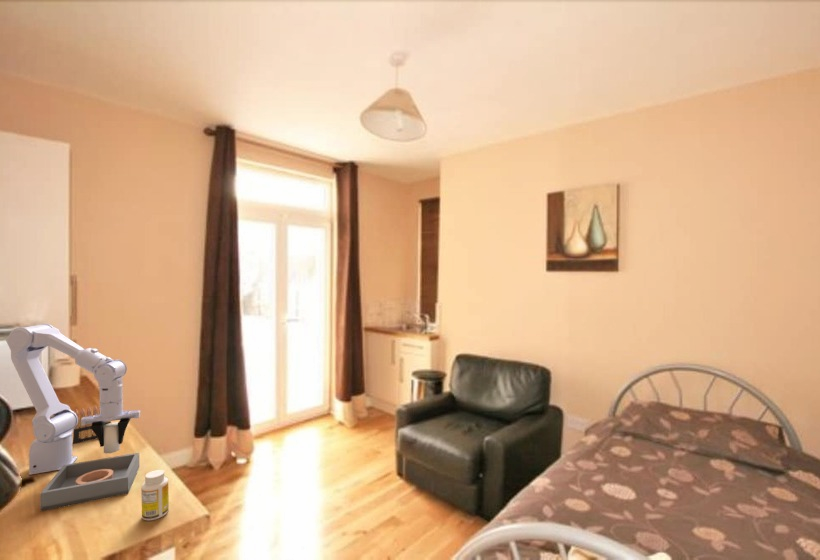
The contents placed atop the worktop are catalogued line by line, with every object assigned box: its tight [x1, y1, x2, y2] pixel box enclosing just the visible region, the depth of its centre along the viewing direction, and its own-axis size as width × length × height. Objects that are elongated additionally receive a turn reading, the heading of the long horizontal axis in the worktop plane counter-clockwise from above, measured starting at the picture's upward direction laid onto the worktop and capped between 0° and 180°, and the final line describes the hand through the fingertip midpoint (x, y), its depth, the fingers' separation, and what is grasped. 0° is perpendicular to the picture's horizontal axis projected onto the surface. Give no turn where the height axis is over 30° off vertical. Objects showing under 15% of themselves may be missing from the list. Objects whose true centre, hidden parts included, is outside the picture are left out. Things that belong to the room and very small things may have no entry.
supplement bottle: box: [140, 469, 170, 521], centre depth 96 cm, size 6×6×10 cm
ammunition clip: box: [72, 405, 112, 445], centre depth 140 cm, size 11×2×12 cm, turn 132°
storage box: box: [39, 452, 140, 512], centre depth 108 cm, size 18×16×4 cm
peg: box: [103, 422, 121, 454], centre depth 121 cm, size 4×4×8 cm
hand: (111, 444), depth 121 cm, fingers closed on peg, 4 cm apart
